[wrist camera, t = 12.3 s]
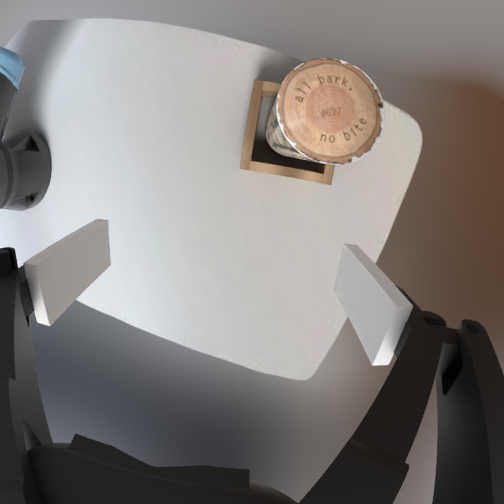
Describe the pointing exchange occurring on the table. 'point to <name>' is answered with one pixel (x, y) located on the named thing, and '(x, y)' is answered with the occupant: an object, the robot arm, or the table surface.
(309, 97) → the paper tube
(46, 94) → the table surface
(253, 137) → the holder
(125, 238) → the table surface
